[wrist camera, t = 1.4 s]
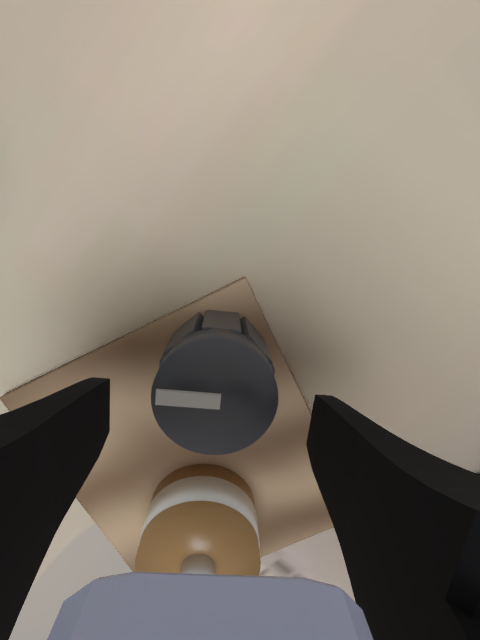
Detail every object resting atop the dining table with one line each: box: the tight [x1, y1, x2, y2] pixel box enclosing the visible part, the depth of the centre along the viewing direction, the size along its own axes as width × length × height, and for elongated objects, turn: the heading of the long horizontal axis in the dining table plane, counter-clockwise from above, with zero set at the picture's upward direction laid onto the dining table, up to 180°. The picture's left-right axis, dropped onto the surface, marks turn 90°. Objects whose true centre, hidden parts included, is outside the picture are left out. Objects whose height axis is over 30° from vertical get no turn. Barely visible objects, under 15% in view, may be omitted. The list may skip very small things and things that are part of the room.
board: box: [0, 277, 334, 572], centre depth 18 cm, size 16×14×1 cm
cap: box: [151, 310, 278, 455], centre depth 14 cm, size 5×5×5 cm
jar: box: [135, 464, 260, 576], centre depth 17 cm, size 6×6×5 cm
